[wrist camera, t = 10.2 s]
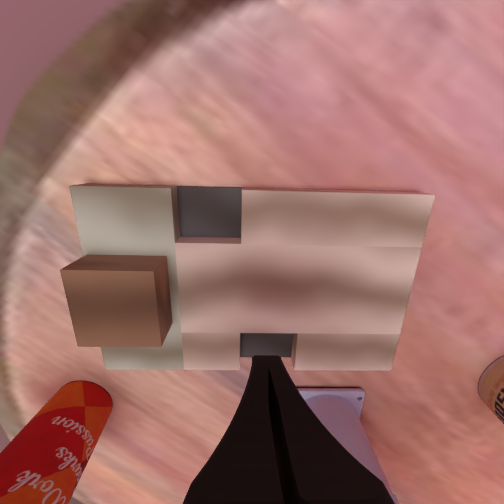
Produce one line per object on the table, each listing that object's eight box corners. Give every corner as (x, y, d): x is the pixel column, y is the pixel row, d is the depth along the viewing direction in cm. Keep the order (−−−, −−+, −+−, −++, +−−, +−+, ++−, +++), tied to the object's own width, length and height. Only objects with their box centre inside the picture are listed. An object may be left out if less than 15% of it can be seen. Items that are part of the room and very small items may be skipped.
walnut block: (172, 322, 22) (161, 346, 19) (100, 322, 21) (77, 346, 19) (166, 255, 20) (153, 271, 17) (87, 254, 20) (60, 269, 17)
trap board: (380, 355, 26) (390, 370, 24) (116, 354, 25) (105, 369, 23) (417, 191, 21) (435, 194, 19) (85, 183, 20) (69, 185, 18)
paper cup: (130, 425, 28) (28, 659, 15) (60, 430, 28) (-105, 669, 15) (112, 367, 25) (-33, 588, 12) (35, 374, 26) (-192, 601, 12)
